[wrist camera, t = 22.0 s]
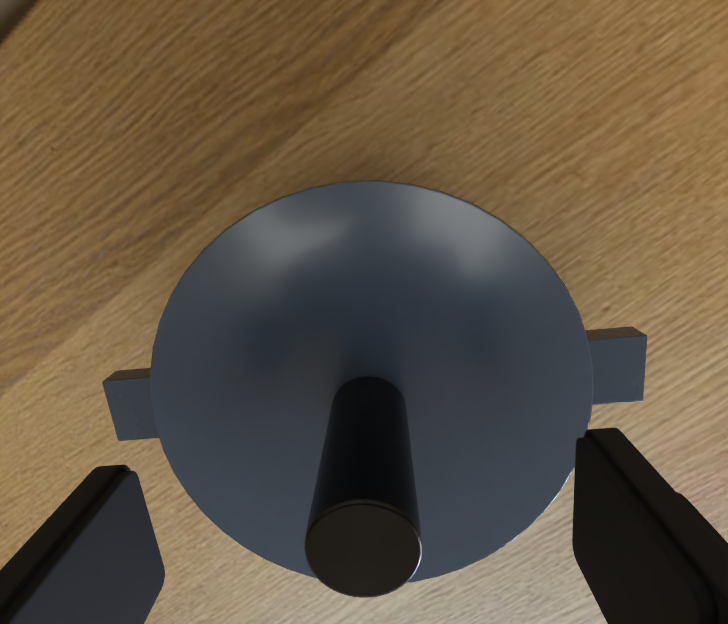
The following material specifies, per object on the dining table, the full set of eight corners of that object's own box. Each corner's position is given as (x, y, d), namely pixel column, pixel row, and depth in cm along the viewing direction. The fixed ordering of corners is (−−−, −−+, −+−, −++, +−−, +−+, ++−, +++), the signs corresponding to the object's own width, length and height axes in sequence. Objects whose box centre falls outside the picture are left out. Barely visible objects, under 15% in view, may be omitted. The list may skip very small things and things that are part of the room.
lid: (119, 205, 15) (-102, 232, 8) (585, 155, 14) (782, 139, 7) (207, 572, 19) (109, 801, 12) (575, 550, 18) (696, 782, 11)
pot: (163, 208, 23) (42, 228, 14) (561, 166, 22) (673, 163, 13) (215, 451, 26) (142, 576, 18) (558, 425, 25) (644, 546, 17)
